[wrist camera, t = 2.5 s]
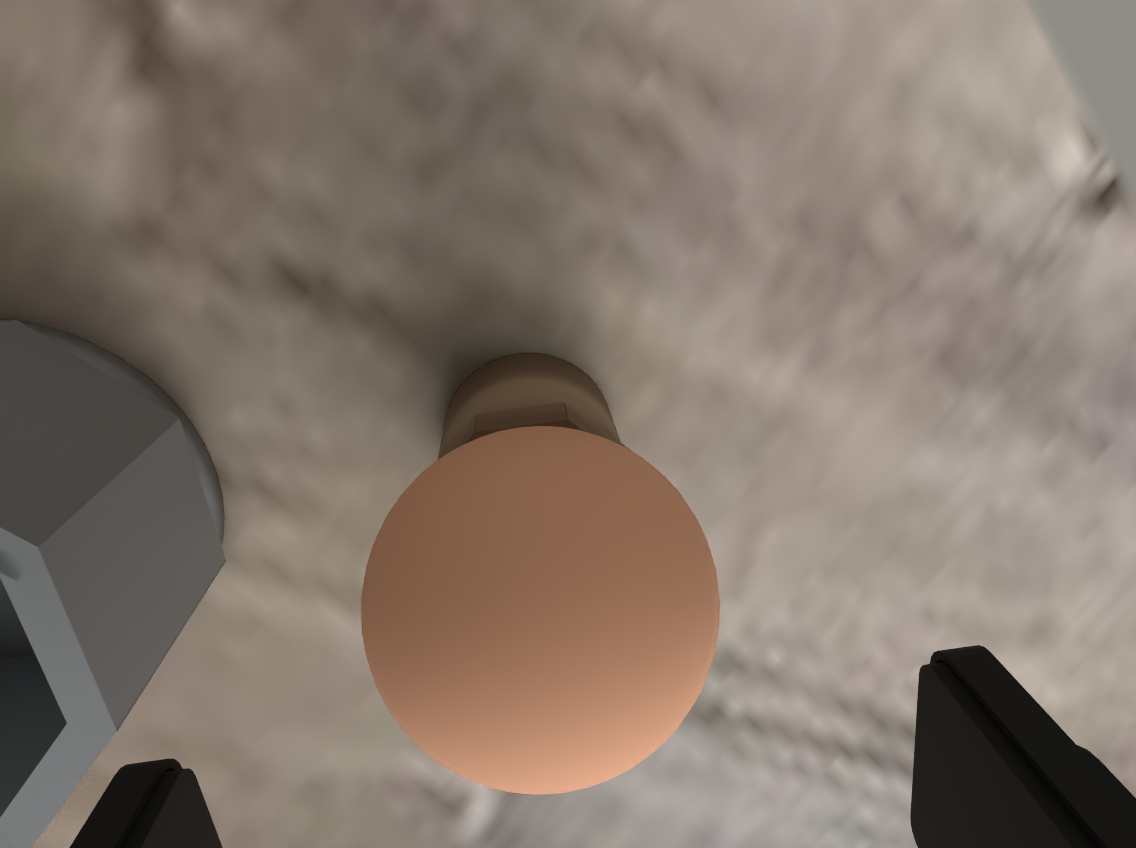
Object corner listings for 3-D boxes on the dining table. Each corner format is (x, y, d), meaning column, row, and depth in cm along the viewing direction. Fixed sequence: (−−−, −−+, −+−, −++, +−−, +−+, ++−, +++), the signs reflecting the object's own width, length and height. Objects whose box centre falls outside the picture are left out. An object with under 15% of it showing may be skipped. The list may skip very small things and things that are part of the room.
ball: (360, 401, 15) (273, 570, 9) (668, 360, 15) (766, 502, 9) (418, 654, 17) (376, 913, 11) (685, 616, 17) (773, 853, 12)
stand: (431, 365, 19) (407, 441, 15) (603, 342, 20) (633, 411, 15) (460, 517, 21) (446, 629, 16) (618, 495, 21) (650, 600, 17)
